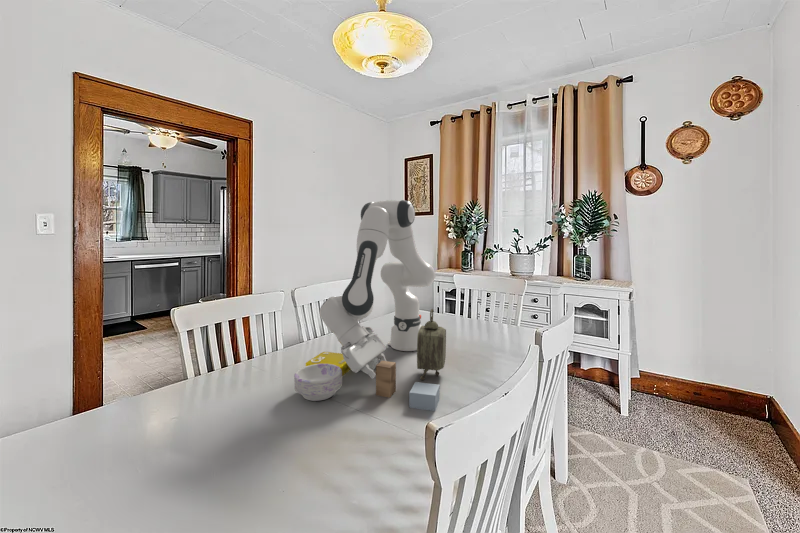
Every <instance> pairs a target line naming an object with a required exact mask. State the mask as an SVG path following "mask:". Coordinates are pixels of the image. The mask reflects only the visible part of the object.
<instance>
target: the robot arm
mask: <svg viewBox="0 0 800 533" xmlns="http://www.w3.org/2000/svg"><path fill="white" fill-rule="evenodd" d="M415 218H416V210H415V207H414V205H413V204H412V203H411V201H409V200H406V199H405V200H404V199H401V200H396V199H395V200H394V199H391V200H390V199H386V200H382V201H381V200H380V201H375V202H374V201H370V202H367V203H365V204H364V205H363V206H362V208H361V210H360V219H361V221H360V224H359V228H358V232H357V238H356V261H355V266H354V270H353V274H352V277H351V280H350V283H349V284H348V285H347V286H346V288H345V289H344V290H343V294H342V295H340V296H330V297H329V298H328V299H326V300H325V301H324V302H323V303H322V305H321V307H320V308H319V316H320V319H321V321H322V322H323V323H324V325H325V326H326V327H327V329H329V331H330V332H331V333H333V334H334V336H335V337H336V339H337V341H338V342H339V343H340V345H342V346H341V347H340V353H341V354H343V358H344V360H345V361H346V363H347V364H348V366H349V367H350V369H351V370H350V371H352V372H353V373H356V374H357V373H358V372H359V371H360V370H362V371H361V372H363V373H365V374H366V375H368V376H369V377H370V378H371V379H374V378H376V375H377V373H376V369H374V370H372V369H370V368H369V365H368V363H370V362H371V361H372V360H374V359H375V358H376V357H377V361H380V362H381V361H387V359H386V355H385V354H384V351H386V348H387V347H386V346H385V344H384V342H383V341H382V340H381V338H380V337H379V336H378V334H377V333H374V331H375V330H374V329H373V328H372V327H371V326H362V325H361V324H360V323H359V322H360V321H363V319H365V318H367V317H369V316H370V315H371V313H372V312H373V310H374V299H375V298H374V292H373V289H372V279H373V276H374V270H375V267H376V266H375V265H376V262H377V260H378V259H379V258H381V257H382V256H383V255H384V252H385V250H386V247H387V244H388V246H389V250H390V254H391V255H392V256H393V258H395V259H397V260H398V261H391V262H386V263H384V264H383V265H382V266H381V268H380V278H381V280H382V282H383V283H384V284H385V285H386V286H387V287H388V288H389V290H390V291H391V294H392V296H393V301H394V317H393V324H394V325H393V326H391V328H390V341H388V342H387V345H388V346H390V347H391V348H392V349H394V350H396V351H404V352H412V351H417V338H418V332H419V329H420V327H421V326H423V325H422V323H421V320H422V314H420V301H419V297H417V296H416V295H415V294H413V293H412V292H411V291H410V287H411V288H427V287H430V286H432V285H433V283H434V281H435V279H436V272H435V269H434V267H433V266H432V265H431V264H429V263H428V262H427V261H425V260H424V258H423V257H422V256H421V255H420V253H419V251H418V249H417V247H416V243H415V242H416V241H415V238H414V237H415V236H414V230H413V226H412V225H413V223H414V221H415ZM376 334H377V335H376ZM380 362H379V363H380Z"/></svg>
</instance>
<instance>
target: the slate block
mask: <svg viewBox="0 0 800 533" xmlns="http://www.w3.org/2000/svg"><path fill="white" fill-rule="evenodd" d="M440 386H441V385H440V384H435V383H429V382H428V383H426V382H418V381H415V382H414V384H413V385H412V387H411V389H410V390H409V392H408V393H409V394H408V398H409V400H408V404H409V405H408V406H409V407H408V408H411V409H418V410H424V411H425V410H426V411H432V412H436V410H437V408H438V404H439V402H440V394H441V393H440V392H441V390H440Z"/></svg>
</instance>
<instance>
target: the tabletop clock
mask: <svg viewBox="0 0 800 533" xmlns="http://www.w3.org/2000/svg"><path fill="white" fill-rule="evenodd" d="M446 355H447V329H446V328H445V327H442V326H439V325H438V323H437V322H436V321H435V320H434V309H433V308H431V309H430V312H429V320H428V321H426V322H425V324H424V325H422V326H421V327H420V329H419V332H418V338H417V350H416V362H417V363H416V368H417V369H418V370H424V371H423V375H420V380H421V381H424V380H425V378H426V377H425V376H426V374H427V372H428V371H435V372H434V375H435V376H437V377H438V376H440V372H439V371H440V370H443V369H444V368H445V363H446V358H447V357H446Z"/></svg>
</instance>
